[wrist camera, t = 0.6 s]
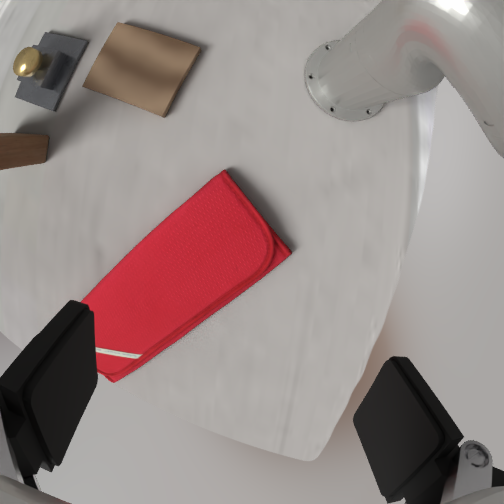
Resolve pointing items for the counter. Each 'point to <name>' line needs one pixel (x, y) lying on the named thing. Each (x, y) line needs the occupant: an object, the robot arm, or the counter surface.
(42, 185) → the counter surface
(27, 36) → the counter surface
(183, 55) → the board
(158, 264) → the dish drying mat
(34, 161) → the wooden block
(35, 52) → the button
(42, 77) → the plate
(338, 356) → the counter surface
